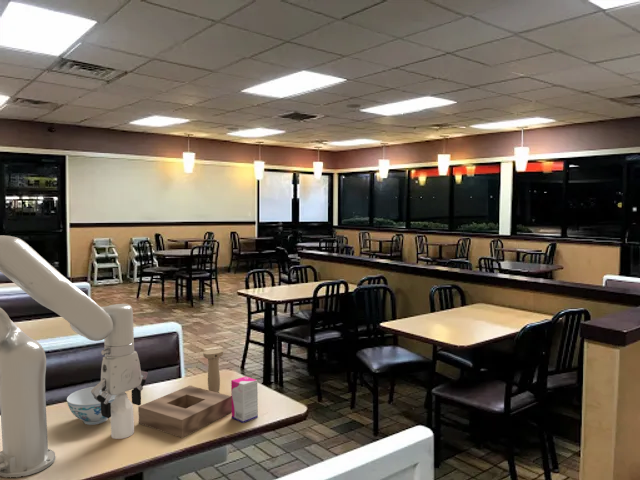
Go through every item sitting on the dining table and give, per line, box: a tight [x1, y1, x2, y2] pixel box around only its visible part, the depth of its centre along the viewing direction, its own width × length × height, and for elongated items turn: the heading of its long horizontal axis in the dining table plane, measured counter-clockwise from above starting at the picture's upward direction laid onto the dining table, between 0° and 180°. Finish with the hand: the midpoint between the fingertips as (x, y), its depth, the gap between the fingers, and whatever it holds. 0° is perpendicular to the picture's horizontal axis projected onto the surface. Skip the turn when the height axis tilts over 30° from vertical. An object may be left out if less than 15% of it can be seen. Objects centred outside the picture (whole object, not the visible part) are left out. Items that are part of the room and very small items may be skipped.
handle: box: [202, 348, 224, 393], centre depth 168 cm, size 5×6×15 cm
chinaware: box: [66, 386, 116, 426], centre depth 150 cm, size 15×15×8 cm
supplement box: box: [230, 375, 259, 424], centre depth 150 cm, size 6×6×12 cm
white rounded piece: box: [110, 392, 135, 440], centre depth 140 cm, size 6×12×6 cm
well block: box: [137, 385, 232, 439], centre depth 151 cm, size 20×18×5 cm
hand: (121, 410), depth 140 cm, fingers open, 9 cm apart
